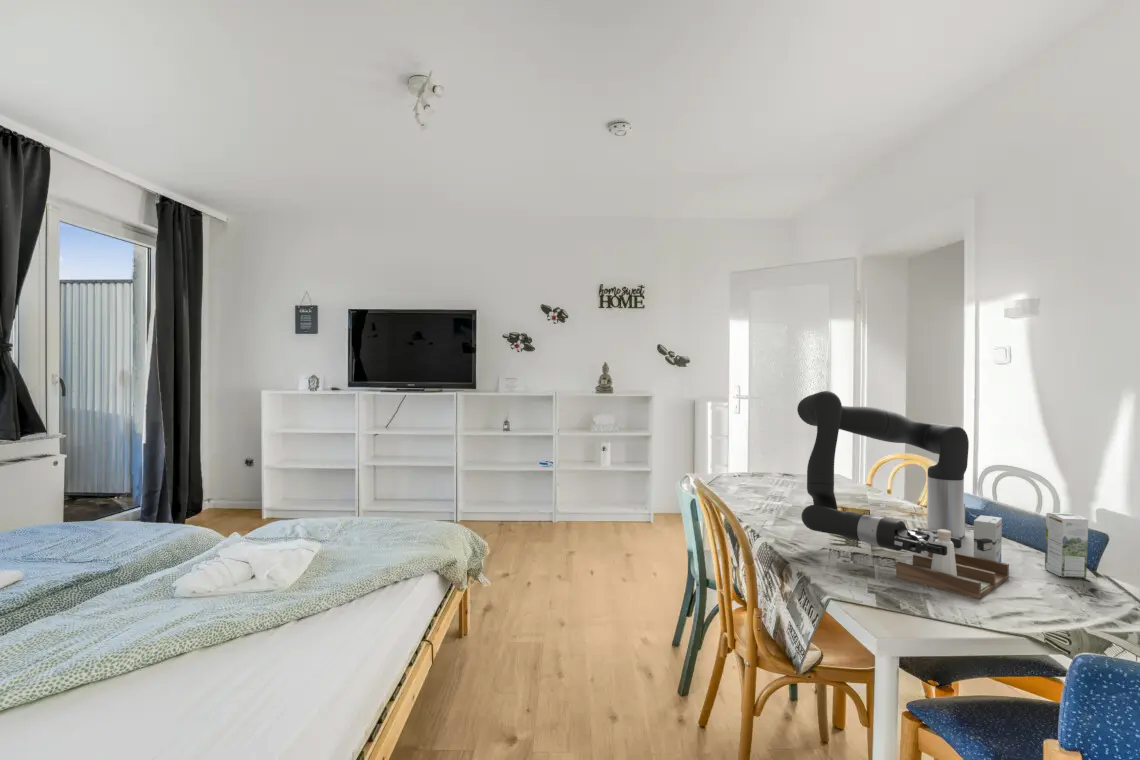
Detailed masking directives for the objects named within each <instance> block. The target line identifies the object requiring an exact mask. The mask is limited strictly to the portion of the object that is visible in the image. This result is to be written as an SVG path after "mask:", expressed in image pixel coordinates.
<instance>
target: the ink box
mask: <svg viewBox="0 0 1140 760" xmlns="http://www.w3.org/2000/svg"><path fill="white" fill-rule="evenodd" d="M1002 526H1003V517H998V516H991V515H982V514H980V515H979V516H977V517H976V518H975V519H974V520H973V556H974V557H979V558H983V559H988V560H992V561H997V562H1001V563H1002V544H1003V543H1002V539H1003V538H1002V537H1003V536H1002V535H1003V534H1002V531H1003V530H1002V529H1003V527H1002Z"/></svg>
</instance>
